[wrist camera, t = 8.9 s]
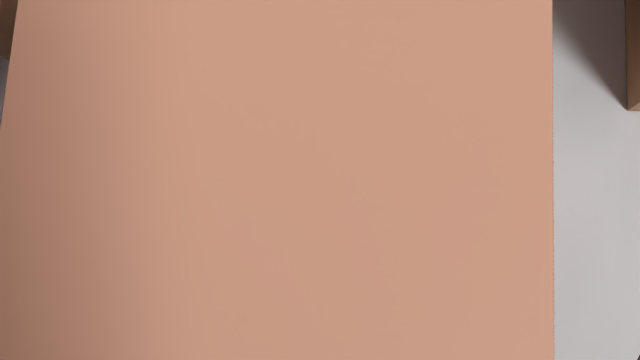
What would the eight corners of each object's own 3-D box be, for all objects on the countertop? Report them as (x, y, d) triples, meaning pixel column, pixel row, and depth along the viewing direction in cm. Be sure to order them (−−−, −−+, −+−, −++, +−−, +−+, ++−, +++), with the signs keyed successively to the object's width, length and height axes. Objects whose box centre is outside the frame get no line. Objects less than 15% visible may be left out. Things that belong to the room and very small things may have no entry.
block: (419, 320, 17) (555, 439, 4) (261, 310, 18) (-37, 394, 5) (423, 163, 18) (551, -131, 5) (271, 157, 18) (35, -128, 5)
